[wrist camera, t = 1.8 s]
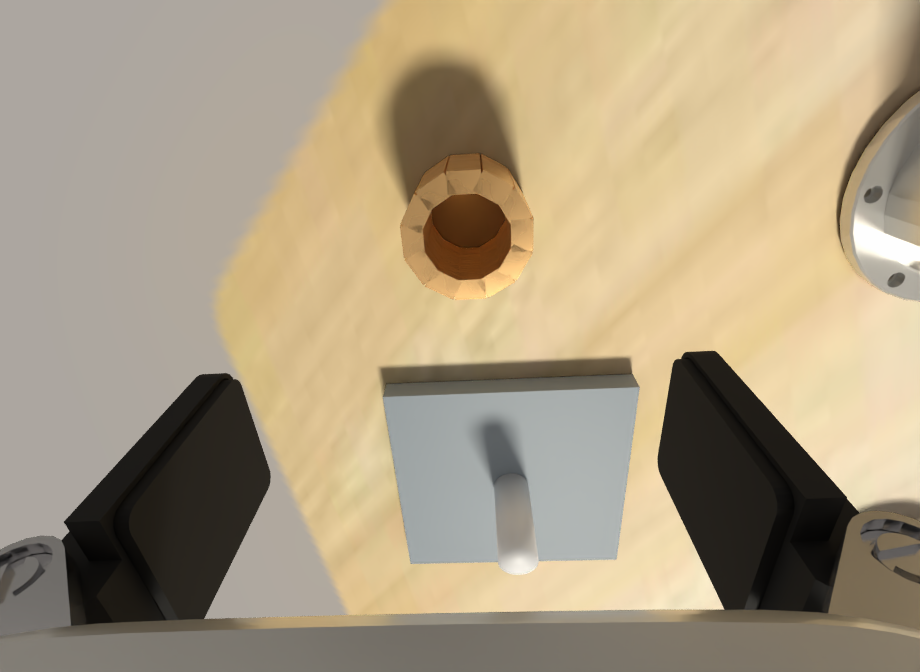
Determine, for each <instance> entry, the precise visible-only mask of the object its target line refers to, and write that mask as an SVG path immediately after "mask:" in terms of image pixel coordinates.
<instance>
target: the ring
mask: <svg viewBox="0 0 920 672" xmlns="http://www.w3.org/2000/svg"><path fill="white" fill-rule="evenodd" d="M461 194H479V195H481V196H483V197H485V198H486V199H488V200H490V201H492V202H494V203H496V204H498V205H499V206H500V208H501V210H502V211H503V213H504V214H505V220H504V222H503V224H502V226H501V228H500V230H499V231H498V233H497V235H496V237H494V238H493V239H491V240H490V241H488V242H486V243H485V244H483V245H482V246H480V247H466V248H460V247H458V246H456V245H454V244H452V243H450V242H448V241H446V240H444V239H443V238H442V236H441V235H440V234H439V232H438V231H437V229H436V228H435V226H434V225H433V222H432V209H433V208H434V207H435V206H437V205H438V204H440V203H441V202H443V201H444V200H446V199H447V198H449V197H450V196H452V195H461ZM400 229H401V238H402V246H403V254H404V258H405V261H406V262H407V264H408V265H409V266H410V268H411V269H412V270H413V272H414V273H415V274H416V276H417V277H418V278H419V280H420V281H421V282H422V284H423V285H424V284H426V285H425V287H428V288H430V289H432V290H434V291H436V292H438V293H440V294H443V295H445V296H447V297H449V298H451V299H454V297H455V300H462V299H482V298H486V295H487V297H488V298H489V297H490V296H492V295H494V294H495V293H497V292H499V291H500V290H502V289H504V288H505V287H507V286H509V285H511V284H512V283H514V282H515V280H517V279H518V277H519V275H520V274H521V272H522V270H523V268H524V267H525V265H526V263H527V262H528V260H529V258H530V257H531V255H532V251H533V216H532V214H531V211H530V209H529V207H528V204H527V202H526V200H525V197H524V195H523V193H522V191H521V189H520V188H519V186H518V184H517V183H516V181H515V179H514V178H513V176H512V174H511V172H510V171H509V169H507V167H505V166H504V165H502V164H500V163H498V162H496V161H494V160H492V159H490V158H489V157H487V156H485V155H483V154H481V155H480V154H479V153H475V154H459V155H450V157H449V156H448V157H446V158H445V159H443V160H442V161H440V162H439V163H438V164H436V165H435V166H433V167H432V168H430V169H429V170H428V171H426V172H425V174H424V175H423V177H422V179H421V181H420V183H419V185H418V187H417V189H416V191H415V193H414V195H413V197H412V199H411V201H410V204H409V206H408V208H407V210H406V213H405V215H404V217H403V219H402V222H401V226H400ZM514 279H515V280H514Z"/></svg>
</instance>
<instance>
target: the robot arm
mask: <svg viewBox="0 0 920 672" xmlns="http://www.w3.org/2000/svg"><path fill="white" fill-rule="evenodd" d="M840 234H841V242H842V245H843V249H844V252H845V255H846V258H847V260H848V261H849V263H850V264H851V266H852V267H853V269H854V270H855V272H856V273H857V274H858V275H859V276H861V277H862V278H863V279H864V280H865V281H866V282H867V283H869V284H870V285H872V286H874V287H876V288H878V289H879V290H881V291H883V292H885V293H887V294H890V295H892V296H895V297H898V298H901V299H904V300H909V301H917V302H920V90H919V91H918V92H917V93H916V94H914V95H913V96H912V97H911V98H909V99H908V100H907V101H906V102H905V103H904V104H903V105H902V106H901V107H900V108H899V109H898V110H897V111H896V112H895V113H894V114H893V115H892V116H891V117H890V118H889V119H888V120H887V121H886V122H885V123H884V124H883V125H882V127H881V128H880V130H879V131H878V132H877V134H876V135H875V136H874V138H873V139H872V140H871V142H870V143H869V144H868V146H867V147H866V149H865V150H864V152H863V154H862V156H861V157H860V159H859V161H858V163H857V165H856V167H855V169H854V170H853V172H852V174H851V177H850V180H849V183H848V186H847V188H846V191H845V194H844V197H843V202H842V209H841V215H840ZM658 468H659V472H660V475H661V477H662V479H663V481H664V483H665V485H666V487H667V490H668V492H669V494H670V496H671V498H672V500H673V502H674V504H675V506H676V508H677V511H678V513H679V515H680V517H681V519H682V521H683V523H684V525H685V527H686V529H687V532H688V534H689V536H690V538H691V540H692V542H693V544H694V546H695V548H696V550H697V553H698V555H699V557H700V559H701V561H702V563H703V565H704V567H705V569H706V571H707V574H708V576H709V578H710V580H711V582H712V584H713V586H714V588H715V590H716V592H717V594H718V597H719V599H720V601H721V603H722V605H723V607H724V609H725V610H604V611H538V612H481V613H431V614H385V615H339V616H304V617H303V616H300V617H267V618H266V617H262V618H225V619H204V618H205V616H206V614H207V611H208V609H209V607H210V606H211V604H212V601H213V599H214V597H215V595H216V593H217V591H218V589H219V587H220V585H221V583H222V581H223V579H224V577H225V575H226V573H227V571H228V569H229V567H230V565H231V563H232V561H233V559H234V557H235V555H236V553H237V550H238V549H239V547H240V545H241V542H242V541H243V539H244V537H245V535H246V533H247V530H248V528H249V526H250V524H251V522H252V520H253V518H254V516H255V514H256V512H257V510H258V508H259V506H260V504H261V502H262V500H263V498H264V496H265V494H266V492H267V490H268V488H269V485H270V470H269V467H268V464H267V461H266V458H265V455H264V452H263V449H262V446H261V443H260V440H259V437H258V434H257V431H256V428H255V425H254V422H253V419H252V416H251V413H250V410H249V407H248V404H247V401H246V398H245V395H244V392H243V389H242V386H241V384H240V382H239V381H238V380H236V379H234V380H233V378H232V377H231V375H230V374H227V373H223V374H202V375H199V376H198V377H196V378H195V380H194V381H193V382H192V383H191V384H190V385H189V386H188V387H187V388H186V389H185V390H184V391H183V393H182V394H181V395H180V396H179V397H178V398H177V399H176V400H175V401H174V402H173V404H171V406H170V407H169V408H168V409H167V410H166V411H165V412H164V413H163V415H161V416H160V418H159V419H158V420H157V421H156V422H155V423H154V424H153V425H152V426H151V427H150V428H149V430H148V431H147V432H146V433H145V434H144V435H143V436H142V437H141V439H139V440H138V442H137V443H136V444H135V445H134V446H133V447H132V448H131V449H130V450H129V451H128V453H127V454H126V455H125V456H124V457H123V458H122V459H121V460H120V461H119V462H118V464H117V465H116V466H115V467H114V468H113V469H112V470H111V471H110V472H109V473H108V475H107V476H106V477H105V478H104V479H103V480H102V481H101V482H100V483H99V484H98V485H97V486H96V488H95V489H94V490H93V491H92V492H91V493H90V494H89V495H88V496H87V497H86V498H85V499H84V501H83V502H82V503H81V504H80V505H79V506H78V507H77V509H75V511H73V513H72V514H71V515H70V516H69V517H68V518H67V519H66V520H65V521H64V523H65V524H66V526H67V528H68V529H69V531H70V532H69V533H68V534H67V535H66V536H65V537H64V538H63V540H62V541H61V540H60V539H58V538H56V537H54V536H37V537H32V538H27V539H24V540H21V541H18V542H16V543H13V544H10V545H8V546H7V547H4V548H2V549H1V550H0V672H920V521H918V520H916V519H914V518H910V517H907V516H903V515H900V514H897V513H892V512H884V511H868V512H862V513H859V512H858V511H857V510H856V509H855V507H854V506H853V505H852V504H851V503H850V502H849V501H848V500H847V497H846V496H845V495H844V494H843V492H842V491H841V490H840V489H839V488H838V487H837V486H836V485H835V483H834V482H833V481H832V480H831V479H830V478H829V477H828V476H827V475H826V473H825V472H824V471H823V470H822V469H821V468H820V467H819V466H818V464H817V463H816V462H815V461H814V460H813V459H812V458H811V457H810V456H809V454H808V453H807V452H806V451H805V450H804V449H803V448H802V447H801V445H800V444H799V443H798V442H797V441H796V440H795V439H794V438H793V437H792V435H791V434H790V433H789V432H788V431H787V430H786V429H785V428H784V426H783V425H782V424H781V423H780V422H779V421H778V420H777V419H776V418H775V416H774V415H773V414H772V413H771V412H770V411H769V410H768V409H767V408H766V406H765V405H764V404H763V403H762V402H761V401H760V400H759V399H758V397H757V396H756V395H755V394H754V393H753V392H752V391H751V390H750V389H749V387H748V386H747V385H746V384H745V383H744V382H743V381H742V380H741V378H740V377H739V376H738V375H737V374H736V373H735V372H734V371H733V370H732V368H731V367H730V366H729V365H728V364H727V363H726V362H725V361H724V359H723V358H722V357H721V356H720V355H719V354H718V353H717V352H716V351H700V352H686V353H684V354H683V356H682V358H681V359H676V360H675V361H674V363H673V367H672V373H671V379H670V385H669V391H668V397H667V404H666V410H665V416H664V422H663V428H662V434H661V440H660V446H659V452H658Z"/></svg>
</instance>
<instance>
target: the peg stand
mask: <svg viewBox="0 0 920 672" xmlns="http://www.w3.org/2000/svg"><path fill="white" fill-rule="evenodd" d="M639 388H640V387H639V385H638V383H637V381H636V380H635V378H634V376H633V374H621V375H596V376H571V377H546V378H521V379H496V380H471V381H446V382H421V383H396V384H386V388H385V391H384V395H383V401H384V407H385V413H386V419H387V425H388V431H389V437H390V443H391V449H392V455H393V461H394V467H395V473H396V479H397V485H398V491H399V497H400V503H401V509H402V515H403V521H404V527H405V533H406V538H407V544H408V550H409V556H410V562H411V564H426V563H474V562H498V564H499V567H500V568H501V569H502V570H503V571H505V572H507V573H509V574H514V575H522V574H526V573H529V572H531V571H533V570H534V569H535V568H536V567H537V565H538V562H539V561H568V560H616V559H617V552H618V545H619V537H620V530H621V522H622V515H623V507H624V500H625V492H626V485H627V477H628V470H629V462H630V455H631V448H632V440H633V433H634V425H635V418H636V410H637V403H638V395H639Z"/></svg>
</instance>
